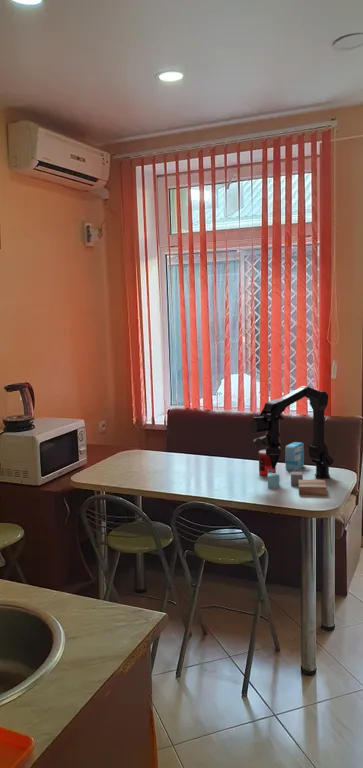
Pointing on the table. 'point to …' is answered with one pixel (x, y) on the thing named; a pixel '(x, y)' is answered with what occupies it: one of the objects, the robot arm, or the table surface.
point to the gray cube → (296, 478)
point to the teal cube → (273, 479)
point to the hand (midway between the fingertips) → (273, 465)
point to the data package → (294, 456)
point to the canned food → (265, 464)
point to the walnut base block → (312, 487)
